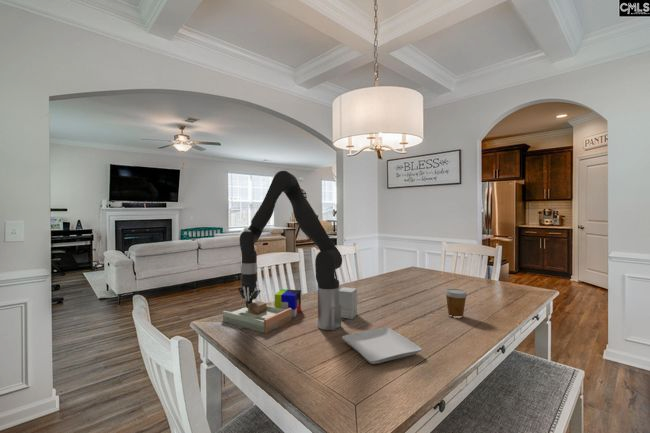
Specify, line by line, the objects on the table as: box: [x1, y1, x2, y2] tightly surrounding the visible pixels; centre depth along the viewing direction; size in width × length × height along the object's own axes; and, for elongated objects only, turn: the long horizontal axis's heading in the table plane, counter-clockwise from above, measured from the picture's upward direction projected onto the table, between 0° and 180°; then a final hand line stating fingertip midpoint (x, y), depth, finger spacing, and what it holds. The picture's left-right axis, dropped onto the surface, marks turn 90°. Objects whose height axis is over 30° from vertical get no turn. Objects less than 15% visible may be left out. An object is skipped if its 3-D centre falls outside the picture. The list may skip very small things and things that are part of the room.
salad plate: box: [341, 326, 422, 365], centre depth 110 cm, size 21×21×3 cm
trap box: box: [222, 301, 293, 334], centre depth 139 cm, size 26×17×6 cm, turn 59°
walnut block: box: [248, 300, 268, 315], centre depth 143 cm, size 6×6×4 cm
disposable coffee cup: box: [445, 288, 468, 317], centre depth 144 cm, size 10×10×12 cm
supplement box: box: [339, 286, 358, 320], centre depth 145 cm, size 7×7×13 cm
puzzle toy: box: [274, 288, 302, 318], centre depth 150 cm, size 10×10×10 cm
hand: (249, 307), depth 146 cm, fingers closed
